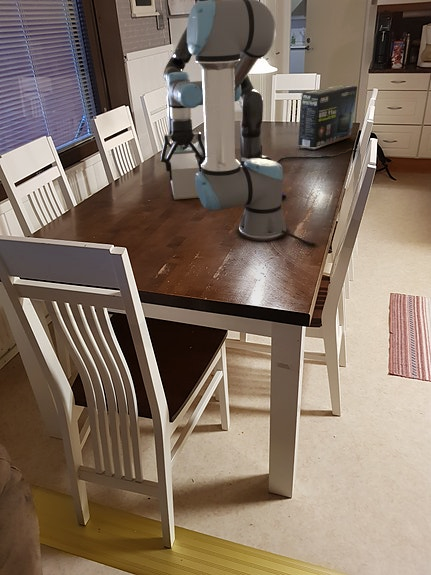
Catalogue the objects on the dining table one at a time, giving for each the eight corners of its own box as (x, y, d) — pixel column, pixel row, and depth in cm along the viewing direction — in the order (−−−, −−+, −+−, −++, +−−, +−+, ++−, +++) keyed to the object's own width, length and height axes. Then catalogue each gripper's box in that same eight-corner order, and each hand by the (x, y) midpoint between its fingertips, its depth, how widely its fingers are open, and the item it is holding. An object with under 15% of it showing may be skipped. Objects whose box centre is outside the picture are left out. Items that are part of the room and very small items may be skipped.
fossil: (208, 150, 224) (188, 131, 227) (198, 168, 231) (178, 149, 234) (228, 148, 238) (208, 130, 241) (217, 165, 244) (198, 147, 248)
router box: (314, 151, 231) (318, 94, 217) (296, 148, 237) (299, 92, 224) (352, 138, 251) (358, 85, 238) (335, 135, 258) (340, 83, 245)
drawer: (170, 169, 207) (168, 147, 201) (190, 167, 208) (189, 145, 202) (173, 188, 186) (171, 164, 181) (196, 186, 187) (195, 162, 182)
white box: (171, 182, 195) (168, 154, 189) (195, 180, 196) (194, 152, 190) (174, 199, 179) (171, 169, 172) (200, 197, 180) (199, 167, 173)
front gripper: (211, 114, 171) (213, 172, 183) (149, 118, 169) (155, 177, 180) (214, 119, 165) (216, 178, 176) (149, 123, 163) (156, 183, 174)
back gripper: (191, 115, 197) (194, 155, 206) (160, 117, 196) (164, 158, 204) (193, 118, 191) (196, 160, 199) (161, 121, 189) (165, 162, 198)
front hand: (185, 178), depth 178 cm, fingers closed on white box, 10 cm apart
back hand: (180, 159), depth 202 cm, fingers closed
